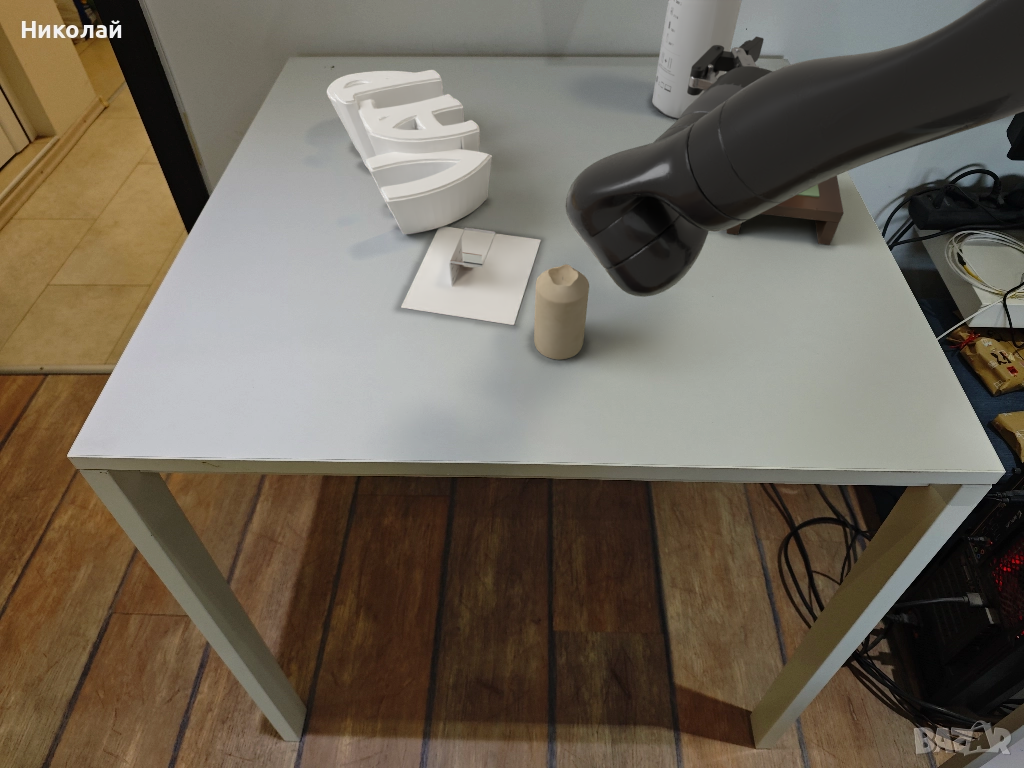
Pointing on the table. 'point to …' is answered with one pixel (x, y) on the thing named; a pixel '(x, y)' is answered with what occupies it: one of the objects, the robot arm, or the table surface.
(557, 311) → the candle
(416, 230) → the white letter sign
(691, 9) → the white tall cylinder
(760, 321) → the table surface
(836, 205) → the miniature wooden bed
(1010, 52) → the robot arm
